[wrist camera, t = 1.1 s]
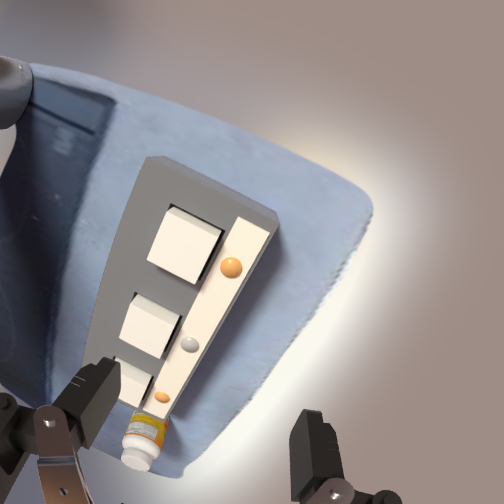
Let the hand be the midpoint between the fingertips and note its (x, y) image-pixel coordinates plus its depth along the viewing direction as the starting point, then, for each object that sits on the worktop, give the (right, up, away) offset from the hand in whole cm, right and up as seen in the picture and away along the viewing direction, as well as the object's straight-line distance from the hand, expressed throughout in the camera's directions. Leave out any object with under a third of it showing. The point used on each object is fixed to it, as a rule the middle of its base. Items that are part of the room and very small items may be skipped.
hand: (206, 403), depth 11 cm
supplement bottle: (-13, -18, +27) cm, 35 cm away
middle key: (-8, 0, +17) cm, 18 cm away
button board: (-8, +1, +20) cm, 22 cm away
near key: (-4, +7, +14) cm, 16 cm away
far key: (-12, -8, +19) cm, 24 cm away
